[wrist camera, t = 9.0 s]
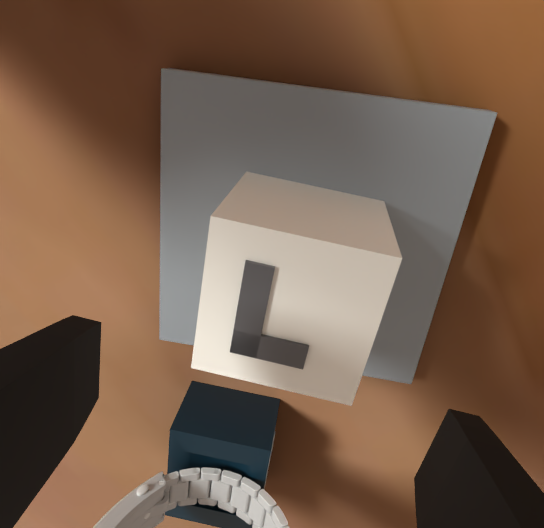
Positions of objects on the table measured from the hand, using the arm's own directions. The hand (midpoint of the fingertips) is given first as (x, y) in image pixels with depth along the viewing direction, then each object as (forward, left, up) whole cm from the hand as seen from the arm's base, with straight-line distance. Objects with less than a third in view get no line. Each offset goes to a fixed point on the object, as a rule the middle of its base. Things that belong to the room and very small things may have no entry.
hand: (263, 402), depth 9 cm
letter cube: (0, 0, -9) cm, 9 cm away
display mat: (0, 0, -9) cm, 9 cm away
